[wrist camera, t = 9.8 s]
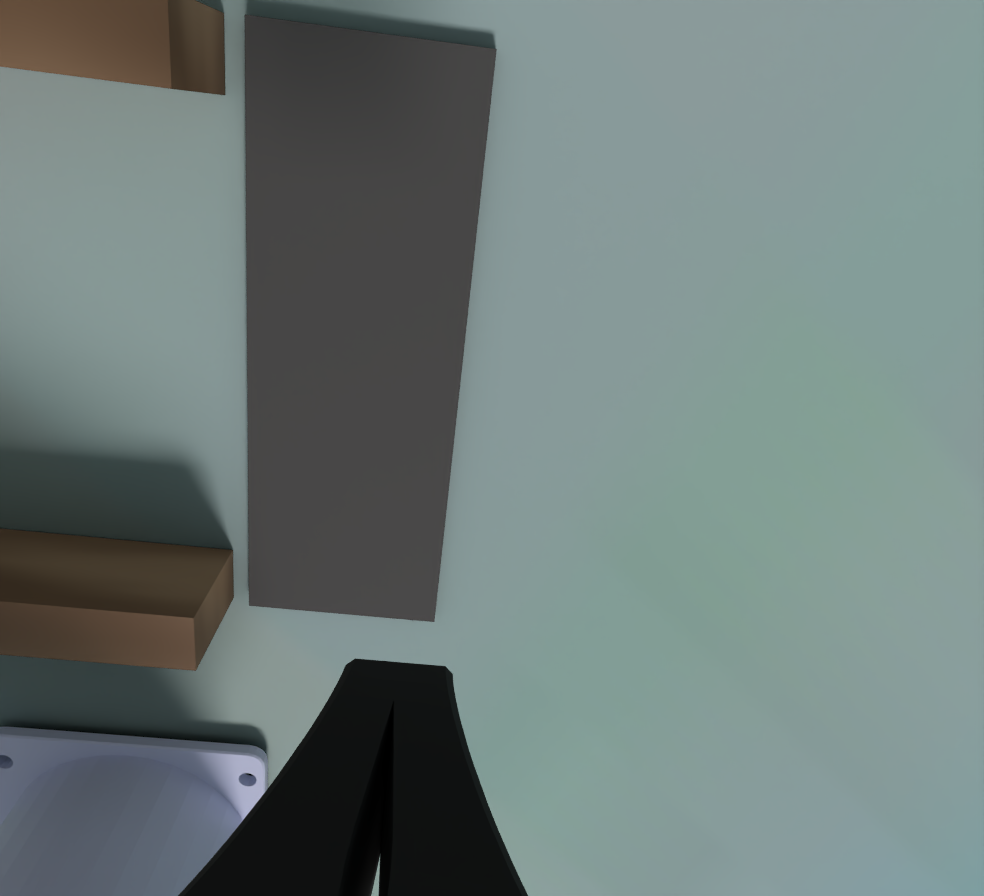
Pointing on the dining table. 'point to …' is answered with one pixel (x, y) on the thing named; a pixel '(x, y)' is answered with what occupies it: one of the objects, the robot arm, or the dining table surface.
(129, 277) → the dining table surface
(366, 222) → the pad
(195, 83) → the channel
